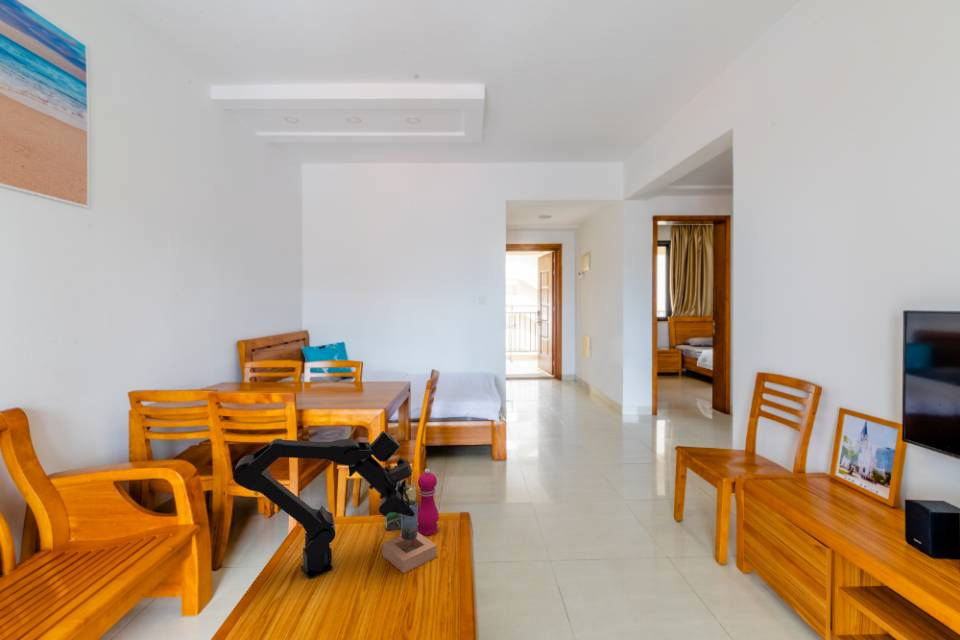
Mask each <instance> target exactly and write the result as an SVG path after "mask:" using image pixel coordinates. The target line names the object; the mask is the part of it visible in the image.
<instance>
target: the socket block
mask: <svg viewBox="0 0 960 640" xmlns="http://www.w3.org/2000/svg"><path fill="white" fill-rule="evenodd" d="M437 554H438V553H437V544H435V543H434V542H433V541H431V540H429V539H428V538H427V537H426V536H425V535H421V534H420V533H418V531H417V537H416V538H414V539H412V540H405V539H403V538H402V537H401V535H400V536H397V537H394V538H392V539H390V540H387V541H385V542H383V543H382V556H383V557H384V558H385V559H386V560H388V561H389V562H390V563H391V564H392V565H393V566H395V567H396V568H397V569H398V570H399V571H400V572H401V573H403V574H405V573H407V572H409V571H411V570H413V569H415V568H417V567H420V566H421V565H423V564H426V563H428V562H429V561H431V560H434V559H435V558H437Z"/></svg>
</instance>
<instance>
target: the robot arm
mask: <svg viewBox="0 0 960 640" xmlns="http://www.w3.org/2000/svg"><path fill="white" fill-rule="evenodd" d="M401 447H402V446H401V444H400V443H399V442H398V441H397V440H396V439H395V438H394V437H393V436H392V435H390V434H389V433H387V432H385V430H382V431H381V432H380V433H379V434H378V436H377V437H376V438H375V439H374V440H373V441H372V443H370V442H368V441H357V439H354V438H343V439H336V440H332V441H326V442H325V441H311V440H310V441H309V440H297V439H296V440H295V439H292V440H291V439H283V438H275V439H273V440H272V441H270V443H268V444H267V445H264V446H263V447H261V448H260V449H258V450H256V451H255V452H253V453H252V454H249V455H248V454H247V455H245V456H242V458H240V459H239V461H238V462H237V464H236V467H235V469H234V471H233V474H232V475H233V476H232V477H233V479H232V480H233V481H234V482H235V484H236V485H238V486H240V487H242V488H245V490H248V491H252V492H257V493H259V494H261V495H263V496H264V497H265V498H266V499H268V500H269V501H271V502H272V504H274V505H276V506H277V507H278V508H279V509H281V510H282V511H283V512H285V514H287V515H289V516H290V517H291V518H292V519H293V520H295V521H296V522H297V523H299V524H300V525H301V526H302V527H303V529H304V531H305V534H304V547H303V548H302V565H300V570H301V571H302V572H303V573H304V574H305V575H306V577H307V578H308V579H312V578H315V577H318V576H320V575H321V574H325V573H326V572H328V571H331V570H333V565H332V562H333V560H332V559H333V556H332V555H333V551H332V550H333V549H332V547H330V546H331V543H332V542H333V541H334V539H335V538H336V523H335V519H334V517H333V512H330V511H328V510H327V509H326V507H324V506H323V505H321V506H320V507H319V509H316V508H313V507H311V506H310V505H308V504H307V503H306V502H305V501H303V500H302V499H301V498H300V497H298V496H297V495H296V494H295V493H294V492H292V490H289V489H288V488H287V487H286V486H284V485H283V484H282V483H281V482H280V481H278V480H277V479H276V478H274V476H273V475H272V474H271V472H270V470H269V469H268V468H269V467H270V466H271V465H272V464H273V463H275V461H276V460H278V459H279V458H291V459H309V460H311V459H313V460H327V461H329V462H333V463H335V464H338V465H343V466H348V477H352V476H353V475H354V474H356V473H357V474H358V475H359V476H360V477H361V478H362V479H364V480H365V482H367V484H369V485H368V488H369V489H370V490H373V489H374V490H375V491H376V492H378V494H379V498H380V500H381V501H380V503H379V507H378V513H379V514H381V516H383V517H384V518H385V516H386V515H387V514H388V513H389V512H394V513H399V514H403V515H407V516H411V517H413V516H414V515H415V513H414V511H413V510H412V509H411V508H410V506H409V505H408V504H407V503H406V501H405V500H404V492H403V487H404V486H406V485H407V479H409V478H410V477H412V475H413V472H414V471H413V468H412V467H411V462H410V461H408V459H406V458H403V457H400V458H398V459H397V461H396V465H394V467H392V468H390V467H389V466H387V465H386V466H382V465H383V464H382V465H381V463H386V462H388V461H389V460H390V459H391V457H393V455H394V454H396V452H397V451H398V450H399V449H401ZM375 458H376V459H375ZM378 461H379V462H378ZM385 496H386V497H385ZM384 497H385V498H384Z"/></svg>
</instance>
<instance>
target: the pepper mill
mask: <svg viewBox="0 0 960 640" xmlns="http://www.w3.org/2000/svg"><path fill="white" fill-rule="evenodd" d="M437 483H438V479H437V476H436V475H435V474H434V473H432V472H431V469H429V468H425V470H424V473H422V474H421V475H419V477H418V479H417V486H418V487H419V489H418V490H419V495H420V505H418V524H417V532H418V533H420V534H421V535H423V536H432V535H434V534H436V533H437V531H438V523H437V522H438V521H439V518H440V515H439V511H438V508H437V506H436V503H435V498H434V497H435V494H436V486H437Z"/></svg>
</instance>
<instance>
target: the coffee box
mask: <svg viewBox="0 0 960 640" xmlns="http://www.w3.org/2000/svg"><path fill="white" fill-rule="evenodd" d="M406 485H409V484H408V483H406ZM385 497H386V496H385ZM385 497H384V498H385ZM384 498H383V499H384ZM384 522H385V523H384V526H385V527H384V528H385V530H386V531H387V532H389V531H393V530H398V529H399V530H400V529H401V514H399V513H394V512H389V513H388V514H387V515H386V516H385V517H384Z"/></svg>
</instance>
